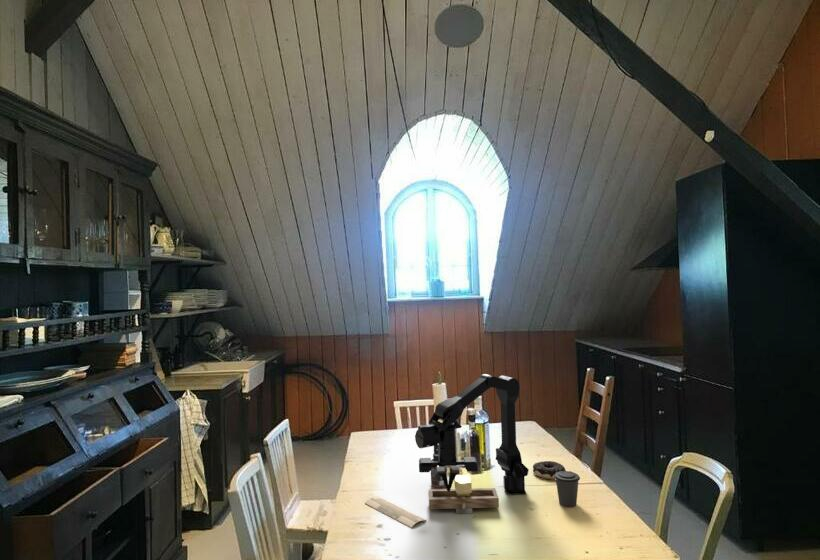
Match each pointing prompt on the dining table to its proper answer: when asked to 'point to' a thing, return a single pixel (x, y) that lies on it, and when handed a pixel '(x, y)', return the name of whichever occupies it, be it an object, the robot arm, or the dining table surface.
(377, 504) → the beige piece
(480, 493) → the brown wooden rectangular tray
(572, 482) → the coffee cup
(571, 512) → the dining table surface
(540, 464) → the donut
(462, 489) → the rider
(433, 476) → the supplement bottle
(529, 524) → the dining table surface
